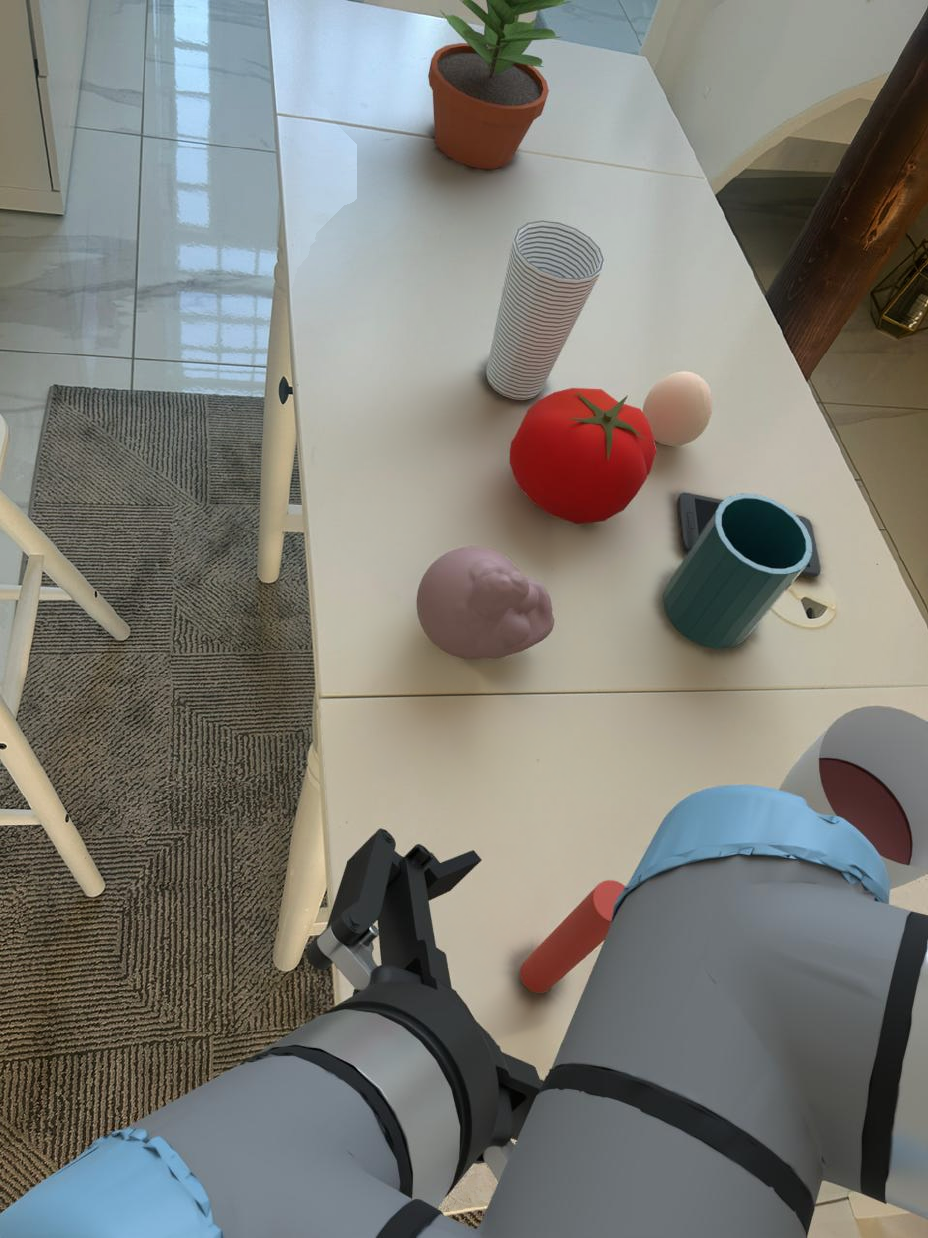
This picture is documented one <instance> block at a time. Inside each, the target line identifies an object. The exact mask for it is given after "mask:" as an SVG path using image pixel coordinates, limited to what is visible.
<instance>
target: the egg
mask: <svg viewBox="0 0 928 1238" xmlns="http://www.w3.org/2000/svg"><path fill="white" fill-rule="evenodd" d="M641 411H642V412H643V414H644V415H645V417H646V418H647V420H648V422H649V425H650V427H651V431H652V434H653V438H654V442H657V443H659V444H661V445H664V446H668V447H682V446H684V445H687V444H690V443H692V442H693V441H695V440H697V439H698V438H699V437H700V436H701V435H702V434H703V433H704V432H705V430H706V428H707V426H708V425H709V422H710V421H711V417H712V413H713V396H712V391H711V389H710V387H709V384H708V382H706V380H704V379H703V377H702V376H700V375H698V374H696V373H695V372H691V371H677V372H674V373H673V372H672V373H670V374H669V375H666V376H665V377H663V378H661V379H660V380H658V381H657V383H655V384H654V385H653V386H652V388H650V390H649V391H648V393H647V394H646V397H645V399H644V401H643V406H642V410H641Z"/></svg>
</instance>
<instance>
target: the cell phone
mask: <svg viewBox="0 0 928 1238" xmlns="http://www.w3.org/2000/svg"><path fill="white" fill-rule="evenodd" d="M724 500H725V499H719V498H715V497H711V496H705V495H701V494H695V493H690V492H682V493H680V494H679V495H678V498H677V512H678V521H679V532H680V542H681V547H682V550H683V552H684V553H685V554H687V553H688V551H689V550H690V548H691V547H692V545H693V544H694V542H695V541H696V539H697V538H698V536H699V535H700V533H701V532H702V530H703V529H704V527H705V525H706V524H707V522H708V521H709V519H710V518H711V516H712V515H713V513H714V512H715V510H716V509H717V507H718V506H719V504H720V503H721V502H722V501H724ZM795 515H796V516H797V517H798V518H799V519H800V521H801V522H802V523H803V524H804V526H805V527H806V528H807V530H808V533H809V535H810V537H811V540H812V556H811V558H810V561H809V563H808V565H807V566H806V567H805V568H804V570H803V571H802V572H801V573H800V574H799V576H798V577H803V578H809V579H813V578H817V577H818V576H820V573H821V571H822V570H821V564H820V558H819V553H818V549H817V543H816V539H815V533H814V528H813V525H812V522H811V520H810V519H809V518H807V517H805V516H803V515H799V514H795Z"/></svg>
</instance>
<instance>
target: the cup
mask: <svg viewBox="0 0 928 1238" xmlns="http://www.w3.org/2000/svg"><path fill="white" fill-rule="evenodd" d="M510 248H511V249H510V253H509V259H508V263H507V267H506V273H505V278H504V282H503V286H502V287H503V288H502V292H501V297H500V302H499V307H498V310H497V311H498V312H497V315H496V320H495V321H496V322H495V327H494V331H493V337H492V341H491V342H492V343H491V346H490V351H489V356H488V360H487V361H488V362H487V365H486V370H485V375H486V378H487V382H488V383H489V385H490V386H491V388H492V389H493V390H494V391H496V392H497V393H498V394H500V395H502V396H503V397H506V398H509V399H512V400H518V401H526V400H531V399H533V398H535V397H536V396H537V395H539V394H540V393H541V392H542V390H543V388H544V387H545V385H546V382H547V380H548V378H549V377H550V374H551V373H552V371H553V368H554V367H555V364H556V363H557V361H558V359H559V356H560V354H561V353H562V351H563V348H564V347H565V345H566V343H567V341H568V339H569V337H570V335H571V333H572V331H573V329H574V327H575V325H576V323H577V321H578V319H579V317H580V315H581V313H582V311H583V309H584V307H585V305H586V303H587V302H588V299H589V297H590V295H591V293H592V291H593V290H594V287H595V285H596V283H597V281H598V279H599V277H600V275H601V273H602V271H603V267H604V264H605V259H604V256H603V252H602V249H601V248H600V247H599V245H597V244H596V242H595V241H594V240H593V239H592V238H591V237H590V236H588V235H587V234H585V233H584V232H582V231H580V230H579V229H577V227H573V226H570V225H567V224H565V223H561V222H558V221H550V220H537V221H530V222H526V223H525V224H524V225H521V226H520V227H519V228H516V231H515V234H514V236H513V239H512V243H511V247H510Z"/></svg>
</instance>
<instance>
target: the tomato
mask: <svg viewBox="0 0 928 1238" xmlns="http://www.w3.org/2000/svg"><path fill="white" fill-rule="evenodd" d="M628 396H629V395H628V394H627V395H626V396H625V397H623V399H621V400H620V401H618V400H617V399H615V398H614V397H612V396H611V394H609V393H607V392H606V391H605V390H603V389H602V388H584V387H583V388H582V387H571V388H567V389H563V390H559V391H554V392H552V393H550V394H548V395H546V396H544V397H543V398H540V399H539V400H537V401H536V402H535V403H534V404H532V405H531V407H529V408H528V409H527V411H526V413H525V415H524V417H523V419H522V421H521V423H520V425H519V427H518V429H517V431H516V433H515V435H514V437H513V438H512V440H511V441H510V447H509V465H510V468H511V472H512V476H513V478H514V480H515V481H516V484H517V485H518V487H519V489H521V491H522V492H523V493H524V494H525V495H526V496H527V498H528V500H530V501H531V502H532V503H533V504H535V505H536V506H537V507H539V508H540V509H542V510H543V511H545V512H546V513H547V514H549V515H550V516H552V517H554V518H556V519H557V518H558V519H560V520H563V521H566V522H569V523H572V524H575V525H582V524H592V523H600V522H605V521H607V520H609V519H611V518H612V517H614V516H616V515H618V514H619V513H622V512H623V511H624V510H626V509H627V507H628V506H629V504H631V502H632V501H633V500H634V498H635V497H636V496H637V495H638V493H639V492H640V490H641V488H642V487H643V485H644V484H645V482H646V480H647V479H648V476H649V475H650V474H651V471H652V467H653V465H654V462H655V460H656V459H655V458H656V456H657V452H658V450H657V446H656V443H655V442H656V441H655V440H654V438H653V434H652V431H651V427H650V425H649V422H648V420H647V418H646V417H645V415H644V414H643V412H642V411H643V410H642V409H641V408H639V407H636V406H632V405H629V404H627V403H625V402H626V400H627V399H628Z"/></svg>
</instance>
